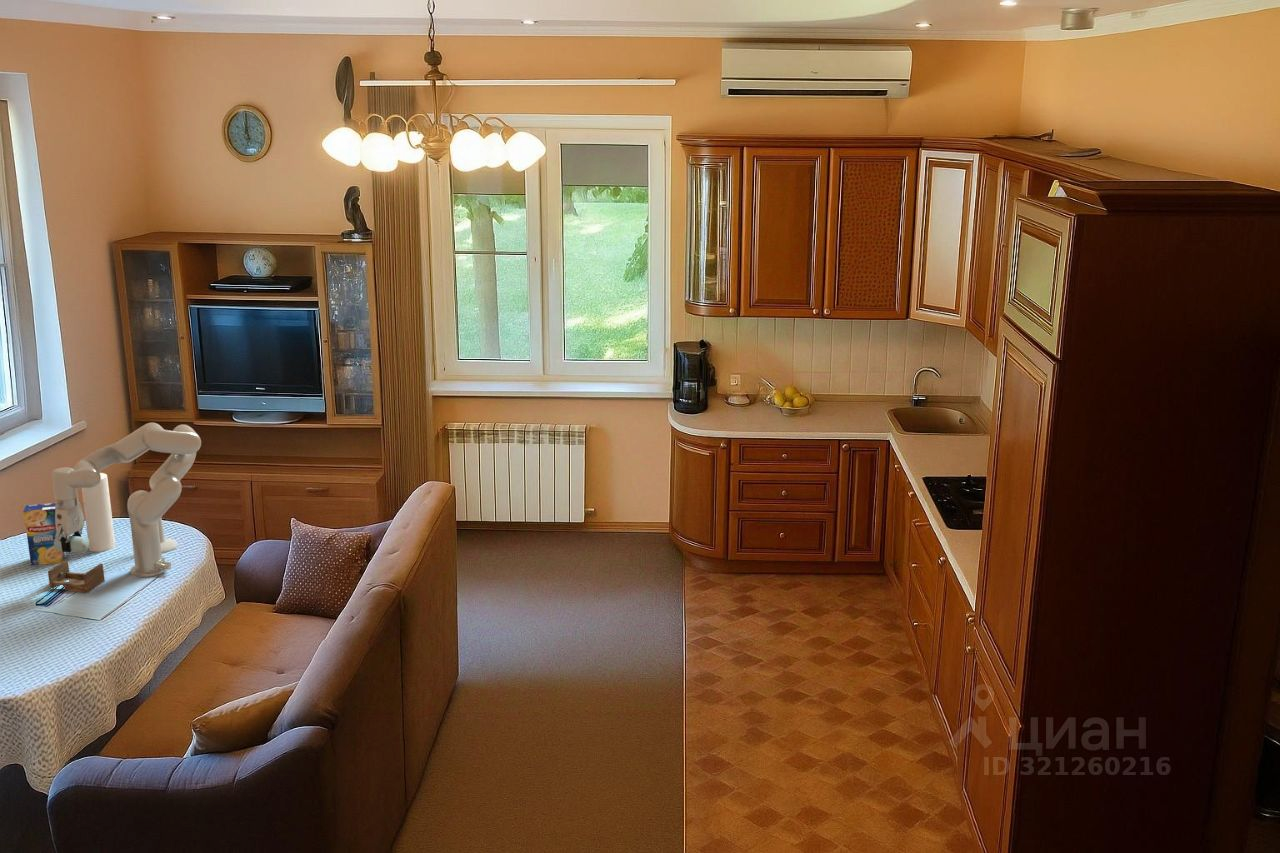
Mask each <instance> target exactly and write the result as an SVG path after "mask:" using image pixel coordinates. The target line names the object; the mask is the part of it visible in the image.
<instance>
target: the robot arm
mask: <svg viewBox="0 0 1280 853" xmlns="http://www.w3.org/2000/svg"><path fill="white" fill-rule="evenodd" d="M201 446H202V440H201V437H200V435H199V434H198V433H197V432H196V431H195V430H194V429H193V428H192V427H191V426H189V425H188V424H179V425H177V426H176V427H174V428H173V430H168V429H164V428H163V427H162V426H161V425H160V424H159V423H156V422H147V423H145V424H144V425H142V426H140V427H138V428H137V429H136V430H134V431H133V432H131V433H130V434H128V435H126V436H125V437H122V438H121V439H120V440H118V441H117V442H114V443H112V444H109V445H106V446H104V447H101V448H99V449H96V450H93V452H91V453H89V454H88V455H86V456H84V457H83V458H81V459H80V460H78V461H77V463H76V464H75V465H74V466H73V468H72V467H68V466H64V467H58V468H55V469H53V470H52V472H51V480H52V481H51V482H52V489H53V497H54V503H55V507H56V510H55V523H56V531H57V532H56V535H55V538H57V539H58V540H59V541H60V542H61V546H62V552H64V553H71V546H70V542H69V536H78V537H82V535H83V528H84V526H86V521H85V515H84V512H83V508H82V504H81V503H80V501H79V500H80V499H79V493H78V489H82V488H92V487H95V486H96V485H98V484H99V482H100V480H101V476H100V473H101V471H102V470H103V469H104V470H105V469H106V468H107V467H110V466H112V465H114V464H121V463H122V464H125V463H131V462H133V461H134V460H136V459H137V458H139V457H140V456H142V455H143V454H145V453H146V452H149V451H153V452H158V453H163V454H164V453H165V454H170V455H169V456H168V457H167V458H166V460H165V461H163V463H162V464H161V465H160V466H159V467H158V469H157V470H156V471H155V472H154V473H153V474H152V475H151V476H150V478H149V484H148V485H149V488H150V491H147V490H143V489H140V490H136V491H134V492H132V493H131V495H129V498H128V499H127V504H126V505H127V506H126V507H127V513H128V517H129V523H130V531H131V541H132V549H133V559H134V565H133V566H132V567H131V569H130V572H131V575H133V576H135V577H139V578H149V577H155V576H158V575H160V574H163V573H164V572H166V571H167V570H171V569H172V562H170V561H166V558H165V557H163V555H162V554H163V553H161V544H160V535H159V524H158V520H159V519H160V518H162V517H163V515H165V514H166V512H167V511H169V509H170V508H171V507H172V506H173V505H174V504H175V502H176V501H177V500H178V499H179V497H180V496H181V492H182V489H183V487H182V486H183V485H182V483H181V480H182V479H183V477H185V475H186V474H187V473H188V472H189V470H190V469H191V468H192V467H193V464H194V462H195V461H196V460H195V459H196V457H197V452H198V451H200V448H201ZM64 535H66V538H64V537H63V536H64Z"/></svg>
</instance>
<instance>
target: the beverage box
mask: <svg viewBox="0 0 1280 853" xmlns="http://www.w3.org/2000/svg"><path fill="white" fill-rule="evenodd" d="M55 510H56V507H55V502H49V503H35V504H34V503H33V504H26V505H25V507H24V509H23V517H24V522H25V523H24V525H25V531H26V532H25V533H26V539H27V545H28V553H29V558H30V559H29V560H30V566H39V565H49V564H60V563H61V562H63V561H64V560H65V554H66V553H65V552H62V550H56V549H55V547H54V540H55V535H56V532H57V531H56V523H55Z"/></svg>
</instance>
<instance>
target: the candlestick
mask: <svg viewBox="0 0 1280 853" xmlns="http://www.w3.org/2000/svg"><path fill="white" fill-rule="evenodd" d="M158 524H159V535H160V544H161V554H164V553H169V552H171V551H174V550H176V549H177V548H178V547H179V543H178V541H177V540H175V539H172V538H166V537H165V532H164V525H163V520H162V517H161V518H160V519H159V520H158ZM177 546H178V547H177ZM168 551H169V552H168Z"/></svg>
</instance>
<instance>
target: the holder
mask: <svg viewBox="0 0 1280 853" xmlns="http://www.w3.org/2000/svg"><path fill="white" fill-rule="evenodd" d="M69 567H70V566H69V560H67V559H64V560H63V562H60V563H57V565H55V566H54V567H52V568H51V569H49V570H47V576H48V583H49V589H50V590H52V589H51V588H54V587H56V586H59V585H63V586H65V589H66V590H65V591H67V592H68V591H69V592H77V593H86V594H87V592H88V593H90V592H91V591H92V590H95V587H96V588H97V587H98V585H99V586H100V585H102V584H103V583H104V582H105V581H106V579H105V572H104V564H103V563H99V564H97V565H96V566H94V567H92V568H91V569H90V570H88V571H86V572H85V573H84V572H83V573H81V572H74V571H73V572H71V571H70V568H69ZM64 580H69V582H63V581H64Z"/></svg>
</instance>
